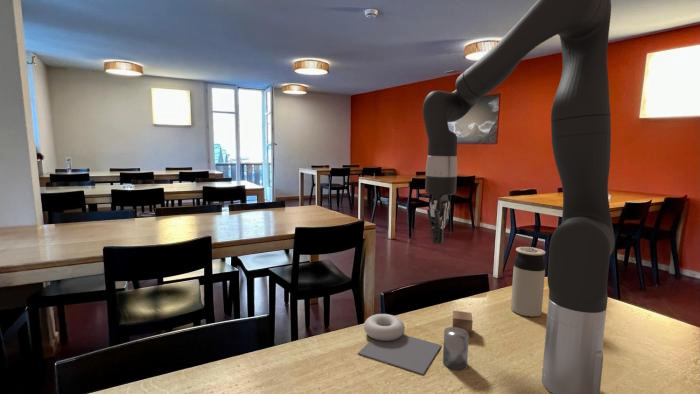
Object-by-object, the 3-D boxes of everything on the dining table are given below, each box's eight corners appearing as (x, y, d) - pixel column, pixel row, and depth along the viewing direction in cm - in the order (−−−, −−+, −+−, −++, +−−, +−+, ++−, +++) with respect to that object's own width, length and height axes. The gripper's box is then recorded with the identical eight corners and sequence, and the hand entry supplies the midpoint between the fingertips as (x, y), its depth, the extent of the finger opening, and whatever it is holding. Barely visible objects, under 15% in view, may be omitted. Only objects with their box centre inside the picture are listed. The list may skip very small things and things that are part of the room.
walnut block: (470, 329, 94) (471, 312, 94) (471, 337, 90) (472, 320, 89) (452, 327, 95) (453, 310, 95) (452, 335, 91) (453, 318, 90)
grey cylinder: (469, 361, 80) (471, 330, 79) (464, 373, 75) (465, 341, 74) (446, 354, 82) (447, 325, 81) (439, 366, 78) (441, 334, 77)
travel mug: (512, 315, 103) (517, 252, 100) (509, 304, 110) (513, 245, 108) (544, 319, 100) (549, 255, 98) (538, 307, 108) (543, 247, 106)
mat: (441, 346, 86) (441, 345, 86) (423, 375, 74) (423, 373, 74) (382, 330, 93) (382, 328, 93) (357, 354, 82) (357, 352, 82)
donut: (404, 331, 84) (361, 327, 86) (403, 345, 85) (361, 341, 87) (405, 313, 94) (366, 310, 96) (405, 325, 95) (366, 322, 96)
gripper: (449, 176, 84) (445, 250, 86) (462, 174, 95) (459, 239, 97) (417, 175, 87) (414, 246, 89) (434, 172, 99) (431, 236, 101)
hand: (438, 242), depth 93 cm, fingers closed
